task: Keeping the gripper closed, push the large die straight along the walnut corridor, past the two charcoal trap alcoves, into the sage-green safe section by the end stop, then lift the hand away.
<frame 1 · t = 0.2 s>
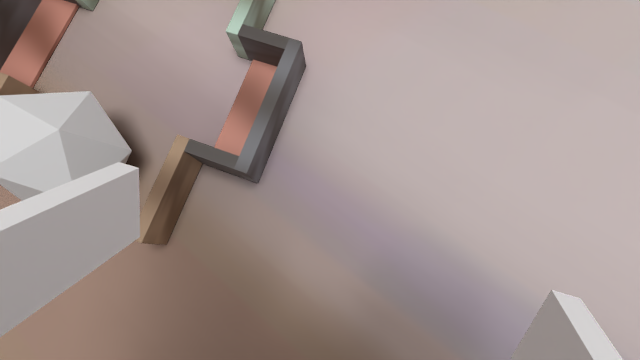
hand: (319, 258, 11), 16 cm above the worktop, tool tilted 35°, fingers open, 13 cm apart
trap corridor: (146, 66, 31), on the worktop
die: (99, 164, 29), on the worktop
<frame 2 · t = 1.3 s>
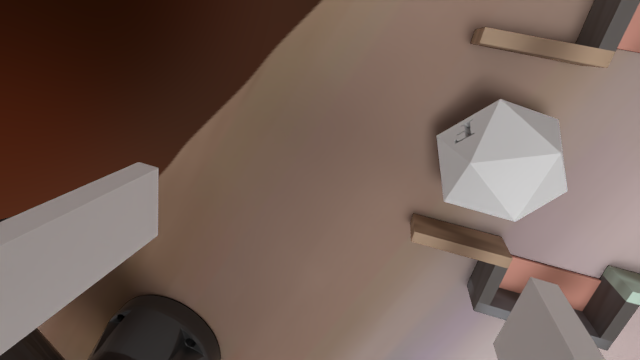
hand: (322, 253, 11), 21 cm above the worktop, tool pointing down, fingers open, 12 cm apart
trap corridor: (609, 177, 27), on the worktop
die: (486, 147, 29), on the worktop
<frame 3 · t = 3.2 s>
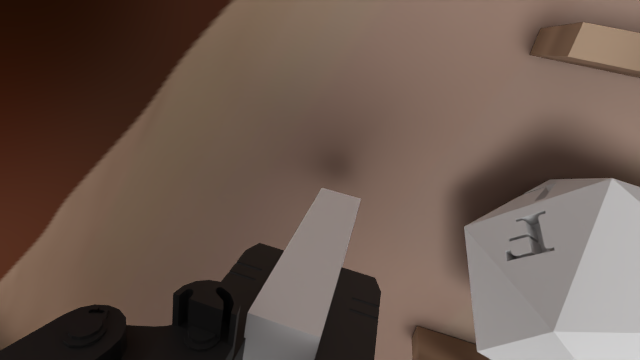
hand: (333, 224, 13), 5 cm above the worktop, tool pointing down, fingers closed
die: (546, 234, 17), on the worktop
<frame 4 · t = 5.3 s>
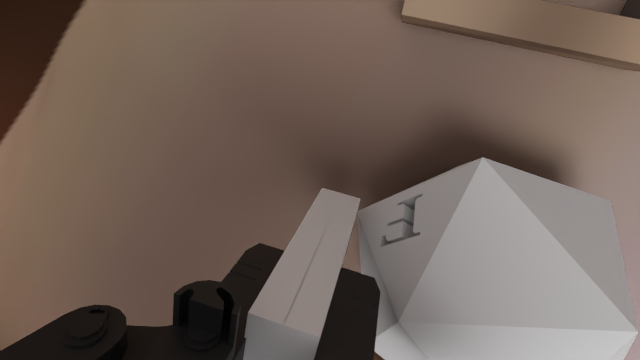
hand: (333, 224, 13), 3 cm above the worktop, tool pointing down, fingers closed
die: (460, 224, 16), on the worktop, touching gripper
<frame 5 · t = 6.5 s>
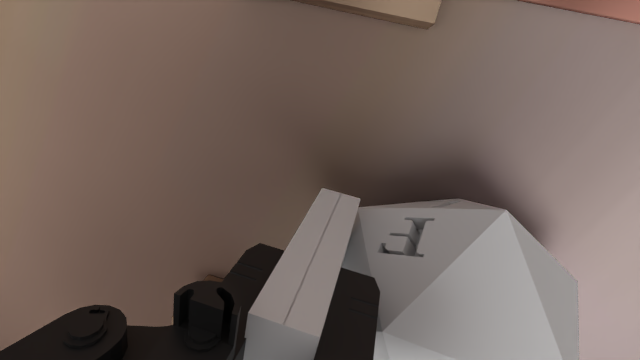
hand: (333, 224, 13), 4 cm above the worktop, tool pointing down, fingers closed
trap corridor: (495, 235, 15), on the worktop
die: (433, 249, 16), on the worktop, touching gripper
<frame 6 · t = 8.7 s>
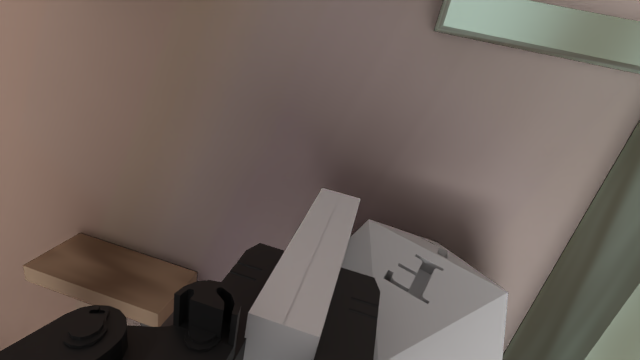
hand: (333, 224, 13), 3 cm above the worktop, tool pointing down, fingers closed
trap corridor: (309, 183, 16), on the worktop
die: (387, 271, 17), on the worktop, touching gripper
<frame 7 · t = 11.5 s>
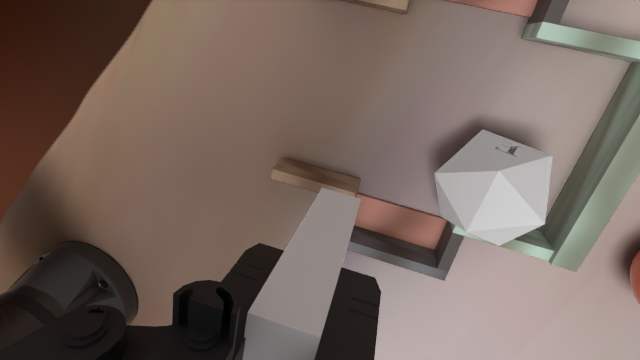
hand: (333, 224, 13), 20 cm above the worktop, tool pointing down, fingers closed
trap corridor: (442, 120, 30), on the worktop
die: (481, 172, 31), on the worktop
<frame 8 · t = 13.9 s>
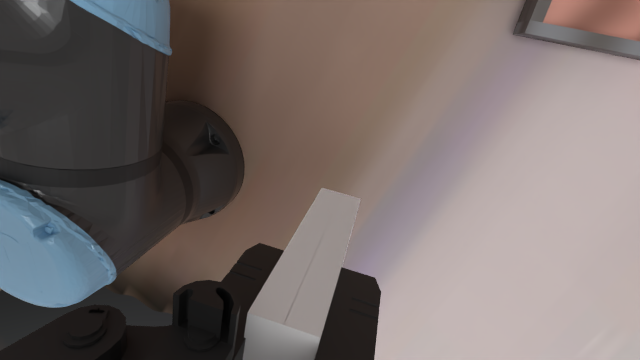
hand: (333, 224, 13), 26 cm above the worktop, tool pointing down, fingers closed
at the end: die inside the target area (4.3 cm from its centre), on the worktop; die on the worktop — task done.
